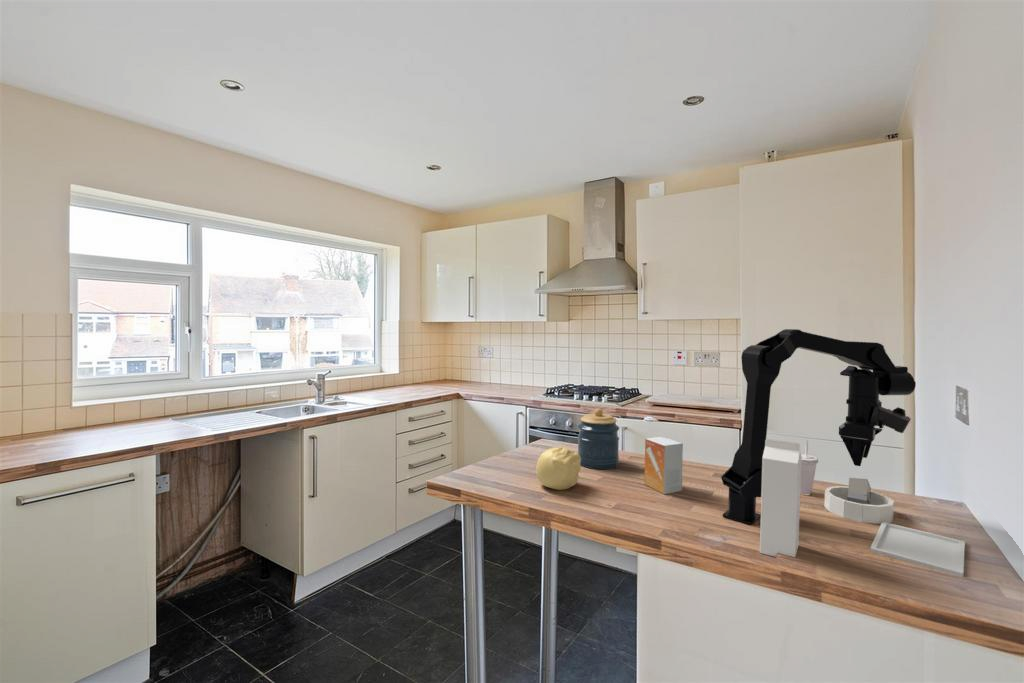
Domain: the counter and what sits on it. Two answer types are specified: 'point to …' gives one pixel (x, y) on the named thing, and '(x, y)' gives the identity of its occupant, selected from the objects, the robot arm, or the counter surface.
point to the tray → (920, 548)
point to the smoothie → (807, 471)
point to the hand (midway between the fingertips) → (860, 461)
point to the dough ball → (558, 468)
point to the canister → (598, 441)
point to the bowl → (859, 506)
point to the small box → (663, 464)
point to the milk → (780, 498)
